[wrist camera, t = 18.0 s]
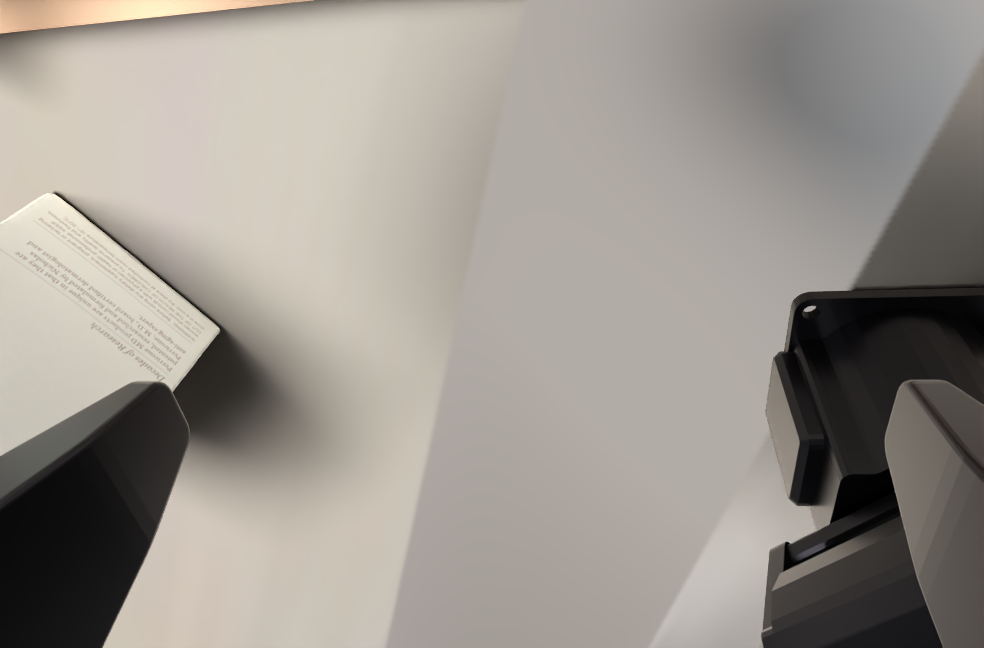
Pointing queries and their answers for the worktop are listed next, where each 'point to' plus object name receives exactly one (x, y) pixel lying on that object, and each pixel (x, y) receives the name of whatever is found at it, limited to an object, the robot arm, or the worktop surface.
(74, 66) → the worktop surface
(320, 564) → the worktop surface
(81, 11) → the rail base
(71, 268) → the supplement box
